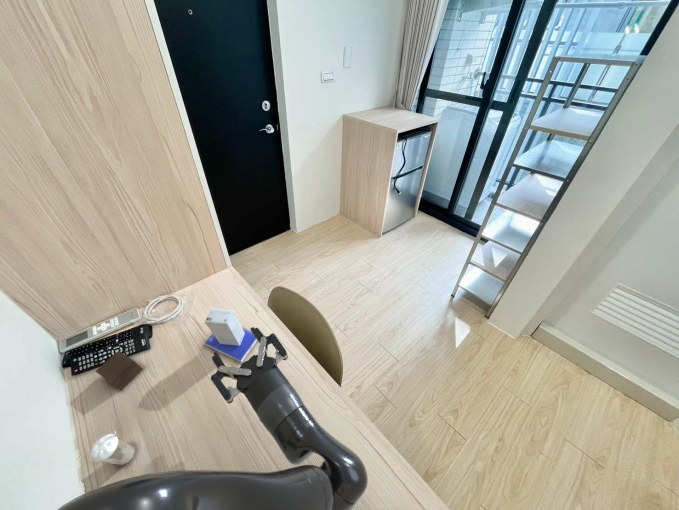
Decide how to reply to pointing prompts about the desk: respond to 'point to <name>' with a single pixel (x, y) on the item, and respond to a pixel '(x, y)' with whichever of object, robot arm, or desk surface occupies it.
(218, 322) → the cosmetic box
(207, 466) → the desk surface
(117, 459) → the milkshake
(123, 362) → the walnut cube
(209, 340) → the hard drive
